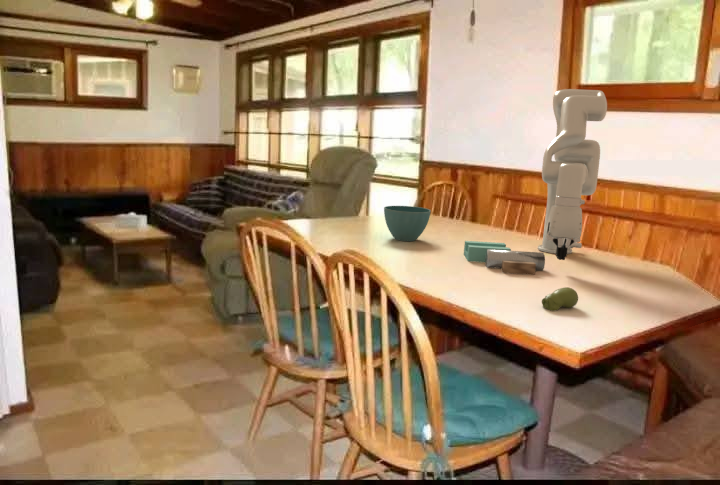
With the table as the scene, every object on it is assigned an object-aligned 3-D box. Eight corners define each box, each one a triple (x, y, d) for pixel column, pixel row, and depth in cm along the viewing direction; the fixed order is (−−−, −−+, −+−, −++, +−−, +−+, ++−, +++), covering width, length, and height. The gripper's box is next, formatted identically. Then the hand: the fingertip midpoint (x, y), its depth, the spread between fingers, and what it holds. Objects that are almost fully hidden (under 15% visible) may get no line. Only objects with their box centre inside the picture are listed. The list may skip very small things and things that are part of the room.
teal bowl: (398, 233, 246) (400, 204, 243) (436, 240, 235) (439, 209, 233) (373, 238, 231) (375, 207, 229) (413, 246, 221) (415, 213, 218)
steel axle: (539, 271, 195) (539, 253, 196) (544, 270, 189) (545, 251, 190) (484, 268, 195) (485, 250, 196) (488, 266, 189) (489, 248, 190)
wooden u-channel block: (525, 265, 198) (526, 255, 197) (534, 274, 186) (535, 264, 185) (495, 263, 198) (496, 253, 198) (502, 272, 186) (503, 262, 185)
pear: (582, 288, 150) (551, 297, 146) (582, 308, 151) (552, 317, 148) (567, 282, 155) (536, 291, 151) (567, 301, 156) (537, 310, 153)
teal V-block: (502, 256, 210) (504, 243, 209) (509, 263, 199) (510, 249, 198) (463, 254, 211) (464, 240, 210) (468, 261, 200) (469, 246, 199)
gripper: (587, 202, 191) (580, 258, 194) (540, 200, 191) (534, 255, 194) (595, 205, 183) (588, 263, 186) (547, 202, 184) (540, 259, 187)
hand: (560, 259), depth 190 cm, fingers closed
